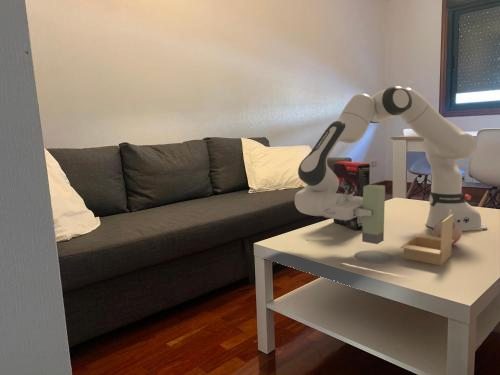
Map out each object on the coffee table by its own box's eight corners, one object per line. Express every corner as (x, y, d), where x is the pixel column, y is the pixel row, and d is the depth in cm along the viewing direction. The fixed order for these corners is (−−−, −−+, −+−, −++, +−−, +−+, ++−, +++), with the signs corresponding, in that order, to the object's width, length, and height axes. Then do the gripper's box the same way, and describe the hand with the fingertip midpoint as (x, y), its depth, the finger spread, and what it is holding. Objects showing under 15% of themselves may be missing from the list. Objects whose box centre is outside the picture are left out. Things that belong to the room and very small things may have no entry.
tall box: (362, 241, 128) (363, 186, 125) (368, 237, 131) (370, 184, 129) (377, 244, 125) (378, 187, 122) (383, 240, 128) (385, 185, 125)
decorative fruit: (467, 248, 135) (468, 220, 133) (445, 250, 134) (446, 222, 132) (449, 241, 144) (450, 214, 142) (428, 242, 143) (429, 215, 141)
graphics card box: (332, 222, 177) (332, 161, 172) (345, 220, 179) (345, 160, 175) (356, 231, 161) (357, 164, 157) (370, 228, 164) (371, 163, 159)
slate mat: (387, 252, 134) (387, 250, 134) (397, 264, 122) (397, 262, 122) (351, 252, 135) (351, 250, 135) (357, 264, 124) (357, 262, 123)
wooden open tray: (400, 262, 124) (401, 218, 122) (418, 248, 137) (419, 208, 135) (438, 269, 117) (440, 223, 115) (453, 254, 130) (455, 212, 128)
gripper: (321, 202, 127) (362, 207, 118) (350, 192, 142) (388, 196, 133) (321, 221, 128) (361, 227, 119) (350, 210, 143) (388, 214, 134)
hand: (376, 211), depth 126 cm, fingers closed on tall box, 5 cm apart
